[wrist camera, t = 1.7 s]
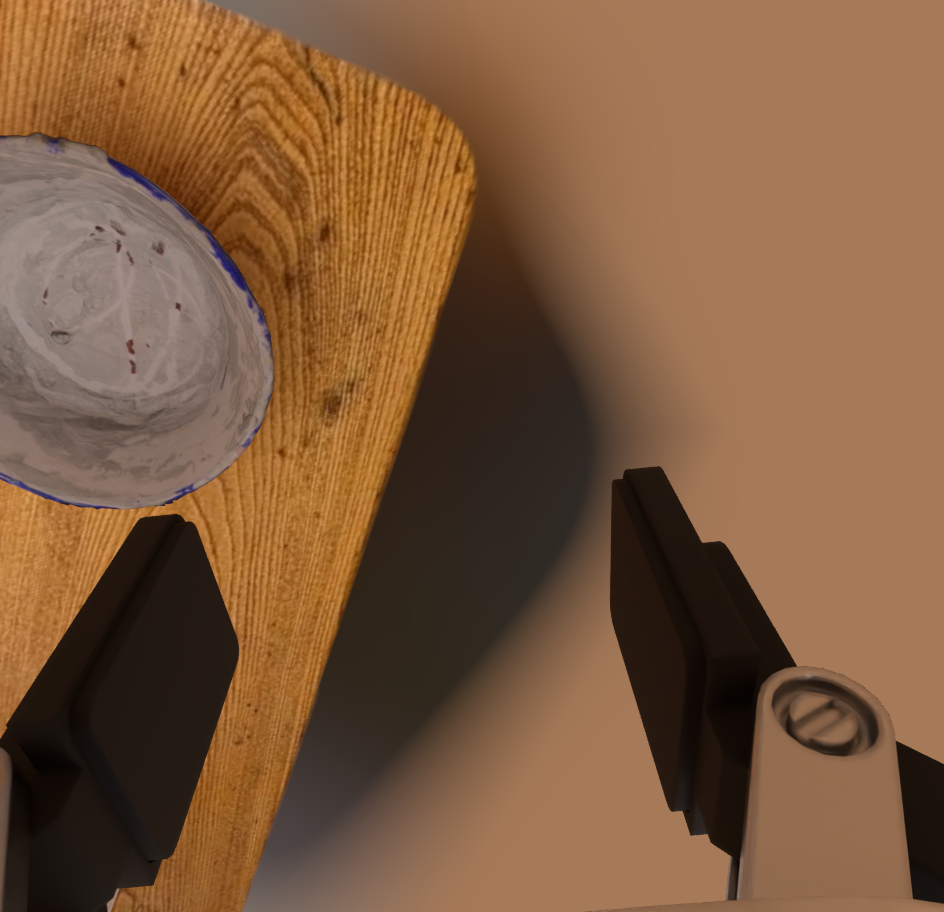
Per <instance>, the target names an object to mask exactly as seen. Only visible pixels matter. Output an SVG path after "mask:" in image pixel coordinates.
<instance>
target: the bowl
mask: <svg viewBox="0 0 944 912" xmlns="http://www.w3.org/2000/svg"><path fill="white" fill-rule="evenodd" d="M273 384H274V358H273V351H272V343H271V334H270V332H269V330H268V326H267V322H266V319H265V316H264V313H263V311H262V310H261V308H260V306H259V304H258V302H257V301H256V299H255V297H254V294H253V292H252V290H251V288H250V287H249V285H248V283H247V282H246V280H245V278H244V277H243V275H242V273H241V272H240V270H239V269H238V267H237V265H236V264H235V262H234V260H233V259H232V258H231V257H230V255H229V254H228V253H227V252H226V251H225V250H224V249H223V247H222V246H221V245H220V243H219V242H218V241H217V240H216V238H215V237H214V236H213V234H212V232H211V231H210V229H208V228H207V227H205V226H204V225H203V224H201V223H200V222H199V221H198V220H197V219H196V218H195V217H194V216H193V215H192V214H191V213H190V212H189V211H188V210H187V209H186V208H185V207H184V206H183V205H182V204H181V203H179V202H178V201H177V200H176V199H175V198H174V197H172V196H171V195H170V194H169V193H168V192H167V191H165V190H164V189H163V188H161V187H160V186H158V185H157V184H156V183H154V182H153V181H152V180H150V179H149V178H147V177H146V176H144V175H143V174H141V173H139V172H138V171H136V170H134V169H132V168H131V167H129V166H127V165H125V164H124V163H122V162H120V161H119V160H117V159H115V158H112V157H110V156H109V155H108V154H107V153H106V152H105V151H104V150H102V149H101V148H99V147H97V146H94V145H87V144H82V143H78V142H74V141H71V140H68V139H66V138H64V137H61V136H60V137H58V138H53V137H50V136H48V135H45V134H42V133H36V132H34V133H32V134H30V135H28V136H21V135H11V136H0V479H1V480H3V481H5V482H7V483H9V484H12V485H15V486H17V487H20V488H22V489H25V490H27V491H29V492H32V493H34V494H37V495H39V496H41V497H43V498H45V499H50V500H53V501H56V502H59V503H61V504H65V505H70V504H71V505H74V506H77V507H93V508H95V509H100V508H109V509H134V508H143V507H148V506H165V504H171V503H173V500H178V499H179V498H181V497H183V496H184V495H186V494H188V493H191V492H193V491H195V490H197V489H198V488H200V487H202V486H203V485H205V484H207V483H208V482H210V481H211V480H213V479H214V478H216V477H217V476H218V475H220V474H221V473H222V472H224V471H225V470H226V469H227V468H229V467H230V466H231V465H232V464H233V462H235V461H236V460H237V459H238V458H239V457H240V456H241V454H242V453H243V452H244V451H245V449H246V448H247V447H248V446H249V445H250V443H251V442H252V440H253V438H254V437H255V435H256V433H257V432H258V430H259V429H260V426H261V424H262V422H263V420H264V417H265V414H266V411H267V408H268V404H269V401H270V398H271V395H272V390H273Z"/></svg>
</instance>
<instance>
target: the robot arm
mask: <svg viewBox="0 0 944 912" xmlns="http://www.w3.org/2000/svg"><path fill="white" fill-rule="evenodd" d="M611 509H612V510H611V511H612V512H611V514H612V515H611V572H610V574H611V575H610V578H611V579H610V610H611V617H612V623H613V626H614V630H615V633H616V636H617V640H618V643H619V646H620V650H621V653H622V656H623V659H624V663H625V666H626V670H627V673H628V676H629V680H630V682H631V686H632V689H633V693H634V696H635V699H636V702H637V706H638V709H639V713H640V715H641V719H642V722H643V726H644V729H645V732H646V735H647V738H648V742H649V746H650V749H651V752H652V755H653V758H654V762H655V765H656V769H657V772H658V775H659V779H660V782H661V785H662V788H663V792H664V795H665V798H666V801H667V804H668V807H669V809H670V810H671V811H672V812H674V811H683V813H684V817H685V820H686V823H687V826H688V829H689V832H690V835H691V836H692V835H702V834H708V836H709V839H710V842H711V843H712V844H714V845H715V846H717V847H718V848H720V849H721V850H723V851H724V852H726V853H727V854H728V855H730V861H729V870H728V879H727V889H726V899H725V901H717V902H703V903H688V904H674V905H660V906H659V905H658V906H647V907H636V908H623V909H612V910H600V911H589V912H944V764H942V763H940V762H938V761H936V760H934V759H932V758H930V757H928V756H926V755H924V754H922V753H920V752H918V751H916V750H914V749H912V748H910V747H908V746H906V745H904V744H902V743H900V742H897V741H896V740H895V731H894V728H893V725H892V721H891V719H890V715H889V713H888V712H887V711H886V709H885V708H884V706H883V705H882V704H881V702H880V701H879V699H878V698H877V697H875V696H874V695H873V694H872V693H871V692H869V691H868V690H867V689H866V688H865V687H864V686H863V685H861V684H859V683H857V682H856V681H854V680H852V679H850V678H848V677H847V676H845V675H843V674H840V673H836V672H833V671H830V670H827V669H824V668H816V667H808V666H799V667H797V665H796V664H795V662H794V660H793V658H792V657H791V655H790V653H789V652H788V650H787V648H786V646H785V645H784V643H783V641H782V640H781V638H780V636H779V634H778V633H777V631H776V629H775V628H774V626H773V624H772V623H771V621H770V619H769V617H768V616H767V614H766V612H765V610H764V609H763V607H762V605H761V603H760V602H759V600H758V598H757V597H756V595H755V593H754V592H753V590H752V589H751V586H750V585H749V583H748V582H747V579H746V578H745V576H744V574H743V573H742V571H741V569H740V567H739V566H738V564H737V562H736V561H735V559H734V557H733V555H732V554H731V552H730V550H729V549H728V548H727V546H726V545H725V544H724V543H722V542H720V541H717V542H707V543H702V542H701V540H700V539H699V536H698V534H697V533H696V531H695V529H694V527H693V525H692V523H691V521H690V519H689V518H688V516H687V514H686V512H685V510H684V508H683V507H682V504H681V503H680V501H679V499H678V497H677V495H676V493H675V492H674V490H673V488H672V486H671V484H670V482H669V480H668V478H667V476H666V475H665V473H664V471H663V469H662V468H661V467H659V466H658V467H647V468H637V469H627V470H625V471H624V475H623V479H616V480H613V482H612V508H611ZM238 657H239V645H238V640H237V636H236V634H235V631H234V628H233V626H232V623H231V620H230V617H229V615H228V612H227V609H226V607H225V604H224V601H223V598H222V596H221V593H220V590H219V587H218V585H217V582H216V579H215V577H214V574H213V571H212V568H211V566H210V563H209V560H208V558H207V555H206V552H205V549H204V547H203V544H202V541H201V538H200V536H199V533H198V530H197V528H196V526H195V524H194V523H193V522H185V520H184V519H183V518H182V517H181V515H178V514H171V515H161V516H151V517H143V518H140V519H139V520H138V522H137V523H136V524H135V526H134V527H133V529H132V531H131V532H130V534H129V535H128V537H127V538H126V540H125V541H124V543H123V545H122V546H121V548H120V549H119V551H118V552H117V554H116V555H115V557H114V558H113V560H112V562H111V563H110V565H109V566H108V568H107V569H106V571H105V572H104V574H103V576H102V577H101V579H100V580H99V582H98V583H97V585H96V586H95V588H94V589H93V591H92V593H91V594H90V596H89V597H88V599H87V600H86V602H85V603H84V605H83V606H82V608H81V610H80V611H79V613H78V614H77V616H76V617H75V619H74V620H73V622H72V624H71V625H70V627H69V628H68V630H67V631H66V633H65V634H64V636H63V637H62V639H61V641H60V642H59V644H58V645H57V647H56V648H55V650H54V651H53V653H52V655H51V656H50V658H49V659H48V661H47V662H46V664H45V665H44V667H43V668H42V670H41V672H40V673H39V675H38V676H37V678H36V679H35V681H34V682H33V684H32V686H31V687H30V689H29V690H28V692H27V693H26V695H25V696H24V698H23V699H22V701H21V703H20V704H19V706H18V707H17V709H16V710H15V712H14V713H13V715H12V716H11V718H10V720H9V721H8V723H7V724H6V726H7V729H6V731H5V733H4V734H3V736H2V737H1V739H0V912H108V908H107V903H108V902H109V901H110V900H111V899H113V898H114V895H115V893H116V890H117V889H120V888H130V887H141V886H152V885H154V882H155V879H156V876H157V873H158V870H159V867H160V864H161V862H162V859H168V858H169V857H171V855H172V854H173V853H174V851H175V848H176V846H177V843H178V840H179V837H180V834H181V831H182V828H183V825H184V822H185V819H186V816H187V813H188V810H189V807H190V804H191V801H192V798H193V795H194V792H195V789H196V786H197V783H198V780H199V777H200V774H201V771H202V768H203V765H204V762H205V759H206V756H207V753H208V750H209V747H210V744H211V741H212V738H213V735H214V731H215V728H216V725H217V722H218V719H219V716H220V713H221V710H222V707H223V704H224V701H225V698H226V695H227V692H228V689H229V686H230V683H231V680H232V677H233V674H234V671H235V668H236V665H237V662H238Z"/></svg>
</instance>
